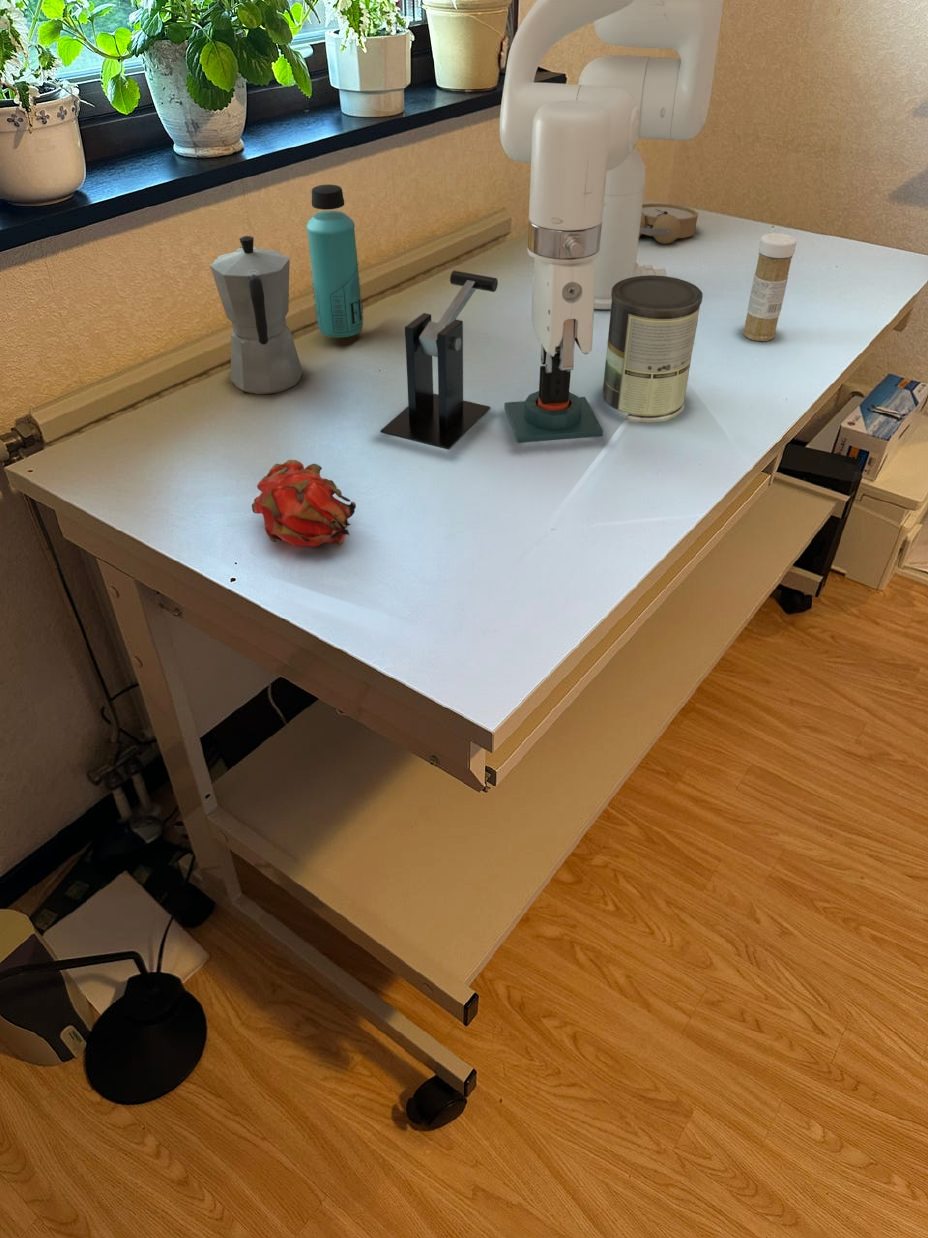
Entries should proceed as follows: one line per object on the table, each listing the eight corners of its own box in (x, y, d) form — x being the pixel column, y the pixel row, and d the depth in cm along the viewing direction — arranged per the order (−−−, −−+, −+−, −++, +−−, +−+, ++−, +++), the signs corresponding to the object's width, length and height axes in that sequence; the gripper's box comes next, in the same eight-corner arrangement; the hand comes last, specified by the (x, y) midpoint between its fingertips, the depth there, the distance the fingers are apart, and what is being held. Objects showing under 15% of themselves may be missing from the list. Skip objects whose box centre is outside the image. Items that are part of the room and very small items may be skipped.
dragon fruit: (274, 521, 99) (349, 582, 94) (216, 511, 92) (294, 576, 86) (310, 451, 97) (389, 509, 92) (253, 435, 89) (336, 497, 84)
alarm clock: (709, 210, 164) (675, 217, 153) (702, 240, 166) (668, 249, 155) (651, 199, 168) (614, 205, 158) (645, 228, 171) (608, 236, 160)
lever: (457, 281, 111) (454, 264, 109) (499, 289, 109) (496, 271, 107) (409, 351, 105) (405, 334, 103) (452, 360, 104) (449, 343, 102)
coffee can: (583, 403, 116) (593, 291, 107) (634, 376, 121) (648, 268, 112) (650, 432, 110) (667, 316, 101) (701, 403, 116) (721, 291, 106)
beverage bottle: (357, 350, 127) (344, 196, 115) (311, 346, 129) (293, 193, 116) (370, 330, 132) (359, 180, 119) (325, 327, 133) (310, 178, 120)
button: (564, 404, 111) (565, 391, 110) (571, 419, 108) (572, 405, 107) (534, 406, 111) (535, 393, 110) (541, 421, 108) (541, 407, 107)
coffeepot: (227, 360, 125) (202, 221, 113) (297, 353, 127) (280, 215, 115) (235, 414, 114) (209, 266, 102) (312, 405, 116) (295, 258, 104)
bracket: (425, 399, 117) (422, 299, 108) (490, 415, 113) (492, 312, 105) (380, 439, 109) (373, 334, 101) (449, 457, 106) (447, 350, 98)
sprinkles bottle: (767, 327, 133) (788, 230, 124) (780, 341, 129) (803, 242, 121) (736, 330, 132) (755, 232, 124) (749, 343, 129) (769, 244, 120)
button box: (583, 408, 115) (586, 382, 112) (601, 443, 108) (604, 416, 106) (503, 414, 114) (504, 388, 111) (517, 450, 107) (518, 422, 105)
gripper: (619, 261, 91) (601, 429, 103) (581, 213, 103) (569, 370, 114) (544, 265, 90) (534, 434, 102) (514, 217, 102) (509, 374, 113)
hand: (553, 399), depth 108 cm, fingers closed
